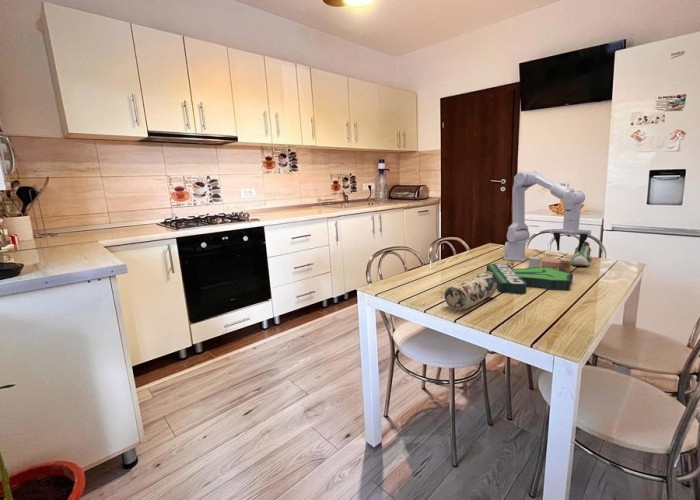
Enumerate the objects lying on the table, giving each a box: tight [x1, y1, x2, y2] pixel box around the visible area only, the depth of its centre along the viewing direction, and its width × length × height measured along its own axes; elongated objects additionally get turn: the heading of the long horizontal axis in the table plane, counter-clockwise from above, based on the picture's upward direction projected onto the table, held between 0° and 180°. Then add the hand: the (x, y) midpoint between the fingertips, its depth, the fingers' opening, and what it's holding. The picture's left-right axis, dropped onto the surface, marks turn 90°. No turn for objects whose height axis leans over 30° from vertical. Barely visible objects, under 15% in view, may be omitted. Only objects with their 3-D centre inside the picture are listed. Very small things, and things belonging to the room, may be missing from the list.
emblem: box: [486, 263, 574, 295], centre depth 138 cm, size 30×4×30 cm
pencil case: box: [443, 270, 497, 311], centre depth 117 cm, size 22×8×10 cm, turn 130°
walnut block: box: [558, 259, 572, 273], centre depth 148 cm, size 4×4×5 cm
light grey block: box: [528, 256, 541, 268], centre depth 157 cm, size 4×4×5 cm
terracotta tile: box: [541, 257, 562, 269], centre depth 160 cm, size 7×7×3 cm
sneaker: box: [569, 241, 592, 267], centre depth 162 cm, size 8×21×10 cm, turn 143°
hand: (568, 250), depth 148 cm, fingers open, 7 cm apart
